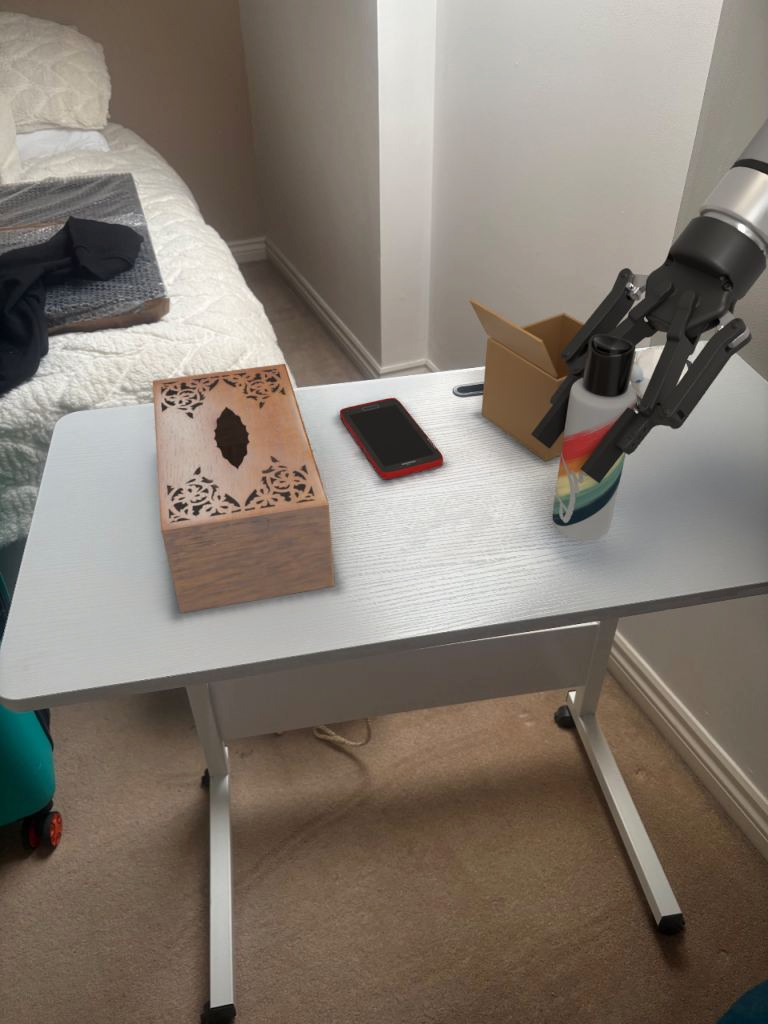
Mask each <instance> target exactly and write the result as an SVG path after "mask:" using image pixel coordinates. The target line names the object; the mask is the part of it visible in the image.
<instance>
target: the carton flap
mask: <svg viewBox="0 0 768 1024" xmlns="http://www.w3.org/2000/svg"><path fill="white" fill-rule="evenodd" d="M468 301H469V303H470V305H471V306H472V309H473V311H474V313H475V314H476V317H477V319H478V321H479V323H480V324H481V327H482V328H483V330H484V332H485V335H487V336H488V337H489V338H490V337H492V338H493V339H495V340H496V341H498V342H500V343H501V344H503V345H504V346H506V347H508V348H509V349H511V350H512V351H514V352H516V353H517V354H519V355H520V356H522V357H524V358H525V359H527V360H528V361H530V362H532V363H533V364H535V365H536V366H538V367H540V368H541V369H543V370H545V371H546V372H548V373H549V374H551V375H553V376H554V377H557V376H558V375H557V373H556V371H555V368H554V366H553V364H552V361H551V359H550V357H549V354H548V352H547V350H546V348H545V345H544V343H543V341H542V340H541V339H539V338H537V337H536V336H534V335H532V334H531V333H529V332H527V331H525V330H524V329H522V328H520V327H521V326H519V325H518V324H516V323H513V322H512V321H510V320H509V319H507V318H505V317H503V316H502V315H500V314H498V313H497V312H495V311H493V310H491V309H490V308H488V307H486V306H485V305H483V304H481V303H479V302H477V301H476V300H475V299H473V298H470V299H469V300H468Z"/></svg>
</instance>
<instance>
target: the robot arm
mask: <svg viewBox="0 0 768 1024" xmlns="http://www.w3.org/2000/svg"><path fill="white" fill-rule="evenodd" d="M767 261H768V117H767V118H766V119H765V121H764V123H763V124H762V125H761V127H760V128H759V129H758V130H757V132H756V133H755V134H754V136H753V137H752V139H751V140H750V141H749V143H748V144H747V146H746V147H745V148H744V149H743V151H742V152H741V154H740V155H739V156H738V158H737V159H736V160H735V162H734V163H733V165H732V166H731V167H730V168H729V169H728V171H727V172H726V173H725V174H724V176H723V177H722V178H721V180H719V182H718V183H717V185H716V187H714V188H713V190H712V191H711V192H710V194H709V195H708V197H707V198H706V199H705V200H704V202H703V203H702V204H701V206H700V207H699V210H698V216H696V217H693V218H691V220H690V221H689V222H688V224H686V227H685V228H684V229H683V231H682V232H681V233H680V234H679V236H678V237H677V238H676V239H675V241H674V242H673V244H672V245H671V246H670V247H669V250H668V253H667V256H666V258H665V260H664V262H663V263H662V264H661V265H660V266H659V267H658V268H655V269H654V270H652V271H651V272H650V273H649V274H635V273H633V271H632V270H631V269H630V268H629V267H625V268H622V269H621V270H620V271H619V273H618V274H617V276H616V279H615V282H614V284H613V286H612V288H611V290H610V292H609V293H608V294H607V295H606V296H605V298H604V299H603V300H602V301H601V303H600V304H599V305H598V307H597V308H596V309H595V310H594V311H593V313H592V314H591V315H590V317H588V319H587V320H586V322H584V325H583V326H582V328H581V329H580V330H579V331H578V332H577V334H576V335H575V336H574V337H573V339H572V340H571V341H570V342H569V344H568V345H567V346H566V347H565V349H564V350H563V351H562V353H561V358H562V359H563V360H564V362H565V363H566V365H567V366H568V368H569V374H568V376H567V377H566V378H565V380H564V381H563V382H562V384H561V385H560V386H559V388H558V389H557V390H556V392H555V393H554V394H553V396H552V397H551V400H550V403H551V404H552V405H553V406H552V407H551V408H550V410H549V411H548V412H547V414H546V415H545V416H544V418H543V419H542V420H541V422H540V423H539V424H538V426H537V427H536V428H535V430H534V431H533V432H532V433H531V435H532V436H533V437H535V438H536V439H537V440H538V441H540V442H541V443H542V444H544V445H545V446H546V447H548V448H549V449H550V448H551V447H552V445H553V444H554V443H555V441H556V440H557V439H558V437H559V436H560V435H561V434H562V432H563V431H564V430H565V424H566V417H567V410H568V404H569V397H570V392H571V388H572V385H573V384H574V383H575V382H576V381H577V380H579V379H581V378H583V375H584V369H585V363H586V357H587V351H588V346H589V341H590V339H591V337H592V336H594V335H597V334H608V335H613V336H616V337H620V338H623V339H626V340H628V341H631V342H633V343H634V344H635V346H636V347H637V345H638V344H640V342H642V341H643V340H645V339H646V338H647V339H648V338H652V337H653V336H654V335H655V334H656V333H658V332H661V333H666V341H665V344H664V346H663V348H664V349H663V351H662V353H661V356H660V358H659V360H658V363H657V365H656V367H655V370H654V372H653V374H652V377H651V379H650V381H649V384H648V386H647V388H646V391H645V393H644V395H643V398H641V400H640V403H637V402H636V403H635V411H633V410H632V409H630V408H628V407H627V409H626V410H625V411H624V413H623V414H622V415H621V416H620V418H619V419H618V420H617V422H616V423H615V424H614V426H613V427H612V428H611V429H610V431H609V432H608V433H607V435H606V436H605V437H604V439H603V440H602V441H601V442H600V444H599V445H598V446H597V448H596V449H595V450H594V452H593V453H592V454H591V455H590V457H589V458H588V459H587V461H586V462H585V463H584V465H583V466H582V467H581V468H580V469H581V470H582V471H584V472H585V473H586V474H587V475H589V476H590V477H591V478H592V479H594V480H595V481H596V482H598V483H600V482H601V481H602V479H603V478H604V477H605V476H606V474H607V473H608V472H609V470H610V469H611V468H612V467H613V465H614V464H615V463H616V461H617V460H618V459H619V457H620V456H621V455H622V454H623V452H625V453H626V455H628V456H629V455H631V454H633V453H634V452H635V451H636V450H637V449H638V448H639V446H640V445H641V443H642V442H643V441H644V440H645V439H646V437H647V436H648V434H649V433H650V432H651V430H652V429H653V428H655V427H657V426H664V427H670V428H671V429H672V430H678V429H680V428H681V427H682V426H683V425H684V423H685V422H687V421H686V420H687V419H688V418H689V416H690V415H691V414H692V413H693V411H694V409H695V408H696V407H697V406H698V404H699V402H700V401H701V400H702V398H703V397H704V395H705V394H707V393H706V392H707V391H708V390H709V388H710V387H711V386H712V384H713V383H714V381H715V380H716V378H717V377H718V376H719V375H720V373H721V372H722V371H723V369H724V367H725V366H726V365H727V363H728V362H729V360H730V359H731V358H732V356H734V355H735V354H737V353H738V352H739V351H740V350H742V349H743V348H744V347H745V346H747V345H748V344H749V343H750V342H752V339H753V335H752V333H751V332H750V330H749V327H748V326H747V325H746V323H745V321H744V319H742V318H740V317H736V316H735V315H734V313H735V312H734V311H735V308H736V304H737V302H739V301H740V300H742V299H743V298H744V297H745V296H746V295H747V293H748V292H749V291H750V290H751V288H752V287H753V286H754V285H755V283H756V282H757V280H759V278H760V277H761V275H762V274H763V273H764V272H765V270H766V269H767ZM643 293H644V298H643V299H642V295H643ZM641 299H642V300H641ZM636 301H639V302H638V303H636V304H635V302H636ZM634 304H635V305H634ZM626 315H627V316H626ZM625 317H626V318H625ZM624 318H625V319H624ZM623 319H624V320H623ZM645 319H646V320H645ZM713 329H715V330H714V334H713V335H712V336H711V337H710V338H709V339H708V341H707V342H706V344H705V345H704V346H703V348H702V349H701V351H700V352H699V353H698V354H697V356H696V358H695V359H694V360H693V361H692V363H691V365H690V366H689V367H688V370H687V372H686V373H685V375H684V376H683V377H682V379H681V380H680V382H679V383H678V381H679V379H680V376H681V374H682V372H683V369H684V367H685V365H686V364H687V363H688V359H689V358H690V356H692V355H693V354H694V352H695V351H696V348H697V345H698V343H699V341H700V340H701V339H700V338H701V336H702V334H704V333H706V332H709V331H711V330H713ZM677 383H678V384H677Z"/></svg>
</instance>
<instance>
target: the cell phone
mask: <svg viewBox="0 0 768 1024" xmlns="http://www.w3.org/2000/svg"><path fill="white" fill-rule="evenodd" d="M339 418H340V419H341V421H342V423H343V424H344V426H345V428H346V429H347V430H348V432H349V433H350V434H351V437H353V439H354V440H355V442H356V443H357V445H358V446H359V448H360V449H361V451H362V452H363V453H364V455H365V457H366V458H367V460H368V461H369V462H370V464H371V466H372V467H373V468H374V470H375V471H376V473H377V474H378V475H379V477H380V478H382V479H383V480H392V479H396V478H401V477H404V476H408V475H412V474H416V473H420V472H423V471H427V470H431V469H435V468H436V469H437V468H439V467H441V466H442V465H443V464H444V456H443V454H442V453H441V451H440V450H439V449H438V447H437V446H436V445H435V444H434V442H433V441H432V440H431V438H429V436H428V435H427V434H426V433H425V431H424V430H423V429H422V427H420V425H419V424H418V422H417V421H416V420H415V419H414V418H413V416H412V415H411V414H410V412H409V411H408V410H407V409H406V407H405V406H404V405H403V404H402V402H401V401H400V400H399V399H397V397H396V398H395V397H389V398H383V399H379V400H373V401H370V402H369V401H368V402H365V403H361V404H360V403H359V404H356V405H351V406H347V407H343V408H341V409H340V410H339Z"/></svg>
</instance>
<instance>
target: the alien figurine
mask: <svg viewBox="0 0 768 1024" xmlns="http://www.w3.org/2000/svg"><path fill="white" fill-rule="evenodd" d="M663 349H664V347H660V346H657V347H654V348H651V349H648V350H644V351H642V352H641V354H640V355H639V356H638V357H637V358H635V359H634V364H633V369H632V374H631V379H630V385H631V386H632V387H633V388H634V389H635V391H636V393H637V397H639V398H640V399H642V398H643V395H644V393H645V391H646V388H647V386H648V384H649V381H650V379H651V377H652V374H653V372H654V370H655V367H656V365H657V363H658V360H659V358H660V356H661V353H662V351H663ZM688 369H689V367H688V364H687V363H686V365H685V367H684V369H683V372H682V374H681V376H680V379H679V381H678V383H679V382H680V380H681V379H682V377H683V376H684V375H685V373H686V372H687V370H688ZM678 383H677V384H678Z"/></svg>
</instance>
